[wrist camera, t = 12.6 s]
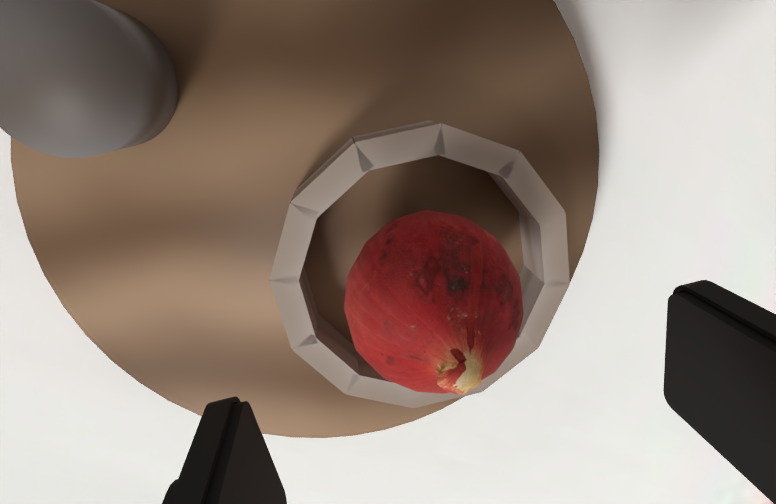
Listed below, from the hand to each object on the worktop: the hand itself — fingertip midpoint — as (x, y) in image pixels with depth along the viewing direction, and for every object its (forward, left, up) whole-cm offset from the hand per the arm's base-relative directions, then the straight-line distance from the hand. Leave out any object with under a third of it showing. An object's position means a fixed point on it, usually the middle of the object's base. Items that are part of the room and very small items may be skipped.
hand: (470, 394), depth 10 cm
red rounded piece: (0, 0, -9) cm, 9 cm away
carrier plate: (-2, -3, -11) cm, 11 cm away
